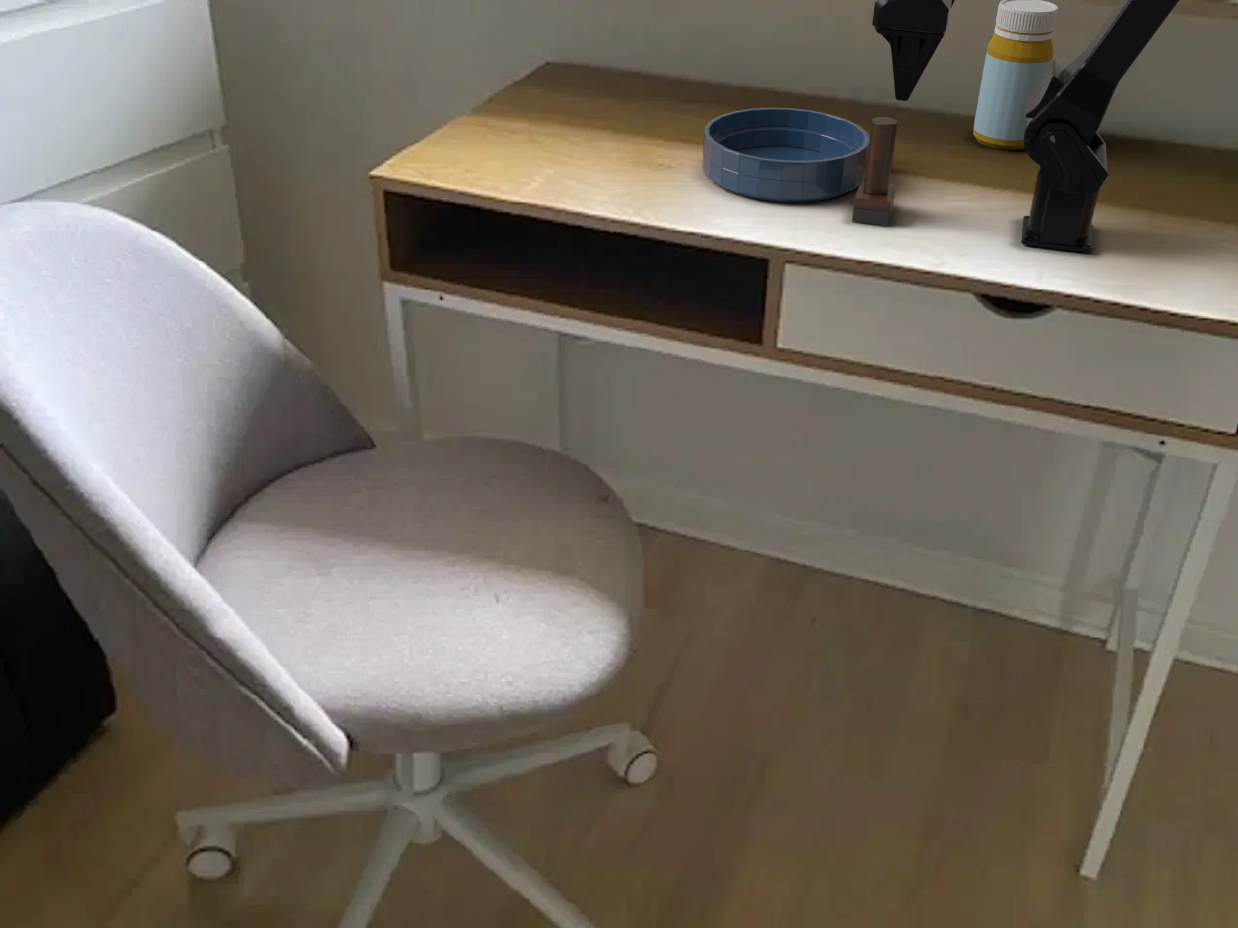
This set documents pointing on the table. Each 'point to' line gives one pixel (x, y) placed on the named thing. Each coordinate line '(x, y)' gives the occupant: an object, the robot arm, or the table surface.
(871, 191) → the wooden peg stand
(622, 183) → the table surface
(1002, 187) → the table surface
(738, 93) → the table surface
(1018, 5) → the bottle
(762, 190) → the bowl
